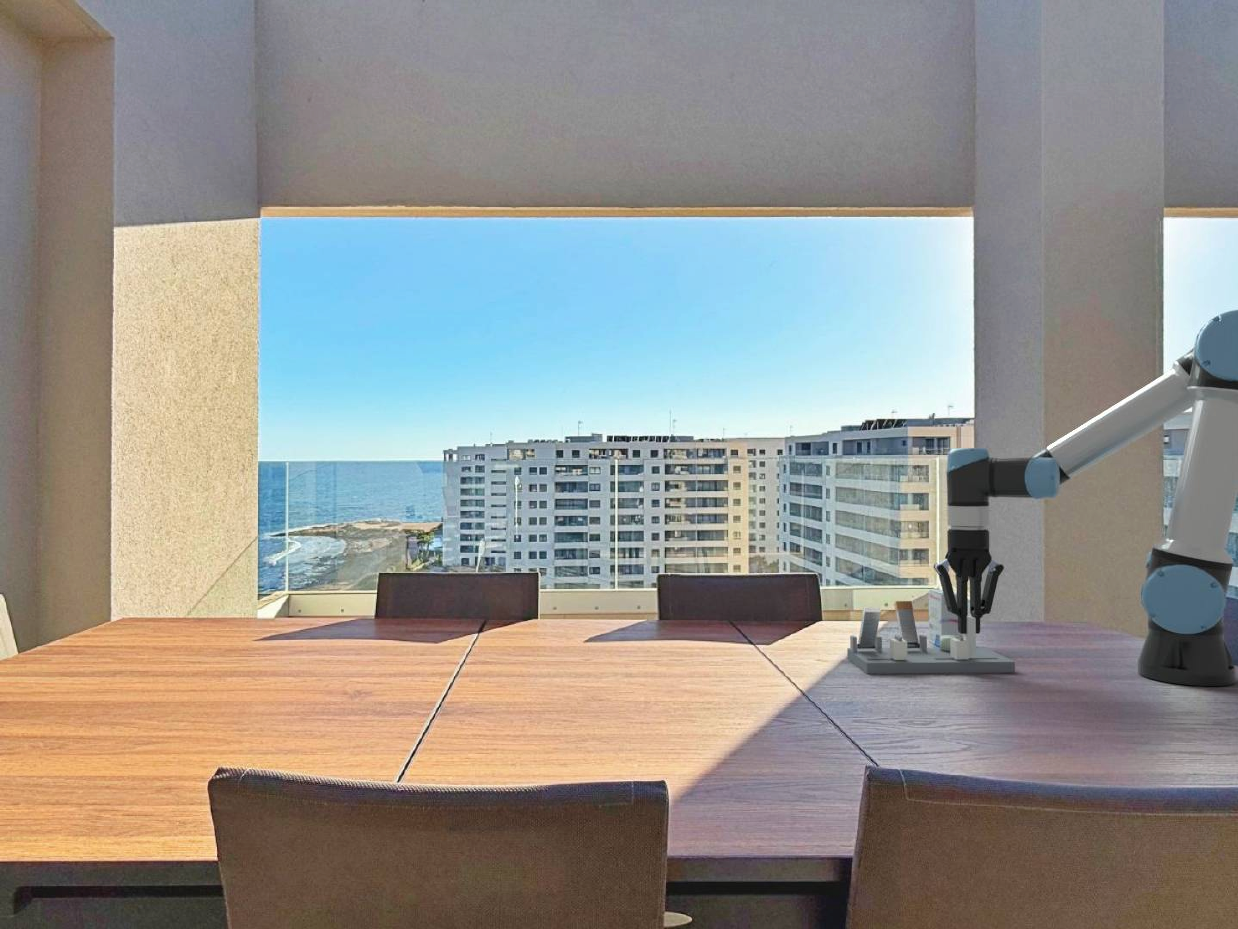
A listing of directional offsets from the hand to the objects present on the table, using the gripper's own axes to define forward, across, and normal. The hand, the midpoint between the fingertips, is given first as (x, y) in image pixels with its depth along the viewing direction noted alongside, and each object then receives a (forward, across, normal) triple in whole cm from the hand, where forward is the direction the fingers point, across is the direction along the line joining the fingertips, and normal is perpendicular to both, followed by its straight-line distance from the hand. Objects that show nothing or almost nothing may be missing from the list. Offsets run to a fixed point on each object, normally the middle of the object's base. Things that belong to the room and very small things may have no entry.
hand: (969, 650), depth 168 cm
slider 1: (+1, +14, 0) cm, 14 cm away
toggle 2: (+1, +9, -8) cm, 12 cm away
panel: (+4, +7, -4) cm, 9 cm away
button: (+1, +1, -8) cm, 8 cm away
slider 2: (+1, +2, 0) cm, 2 cm away
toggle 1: (+1, +18, -8) cm, 19 cm away
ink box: (+4, -4, -24) cm, 24 cm away
